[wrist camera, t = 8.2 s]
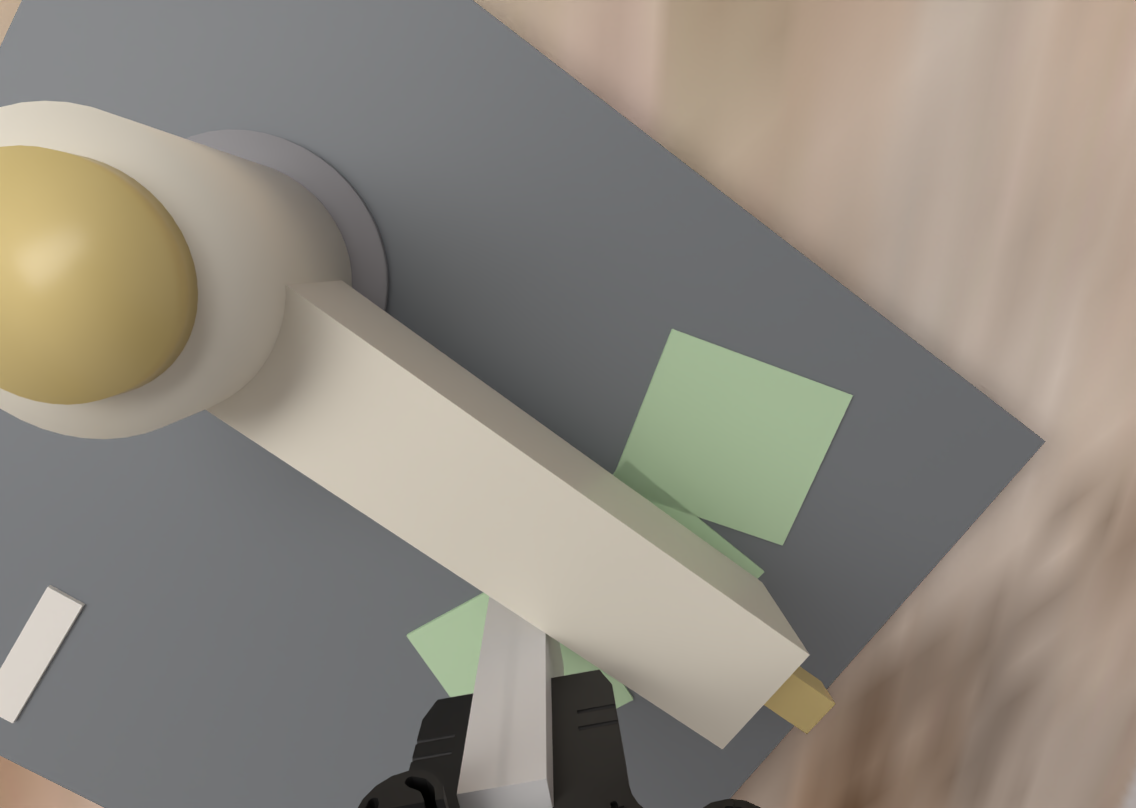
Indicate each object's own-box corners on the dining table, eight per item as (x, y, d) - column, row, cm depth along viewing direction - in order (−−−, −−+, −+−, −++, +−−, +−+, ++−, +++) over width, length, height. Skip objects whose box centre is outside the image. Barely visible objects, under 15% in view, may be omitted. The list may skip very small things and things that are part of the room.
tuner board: (176, -212, 14) (132, -267, 12) (1013, 429, 18) (1054, 444, 16) (-216, 597, 18) (-285, 626, 16) (533, 980, 22) (532, 1032, 20)
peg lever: (93, 296, 15) (-200, 316, 9) (202, 111, 14) (-44, 4, 8) (722, 715, 17) (803, 933, 12) (842, 583, 17) (992, 748, 11)
